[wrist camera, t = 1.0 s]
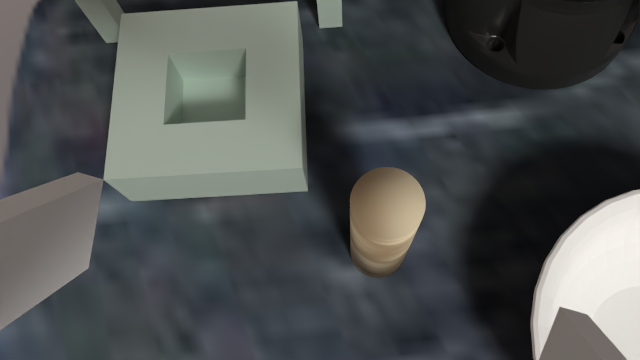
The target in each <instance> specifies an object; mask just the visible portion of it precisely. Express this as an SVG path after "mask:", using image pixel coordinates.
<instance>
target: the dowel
mask: <svg viewBox="0 0 640 360" xmlns="http://www.w3.org/2000/svg"><path fill="white" fill-rule="evenodd" d="M425 206H426V203H425V195H424V192H423V190H422V188H421V186H420V184H419V183H418V182H417V180H416V179H415V178H414V177H412V176H411V175H410V174H408V173H407V172H405V171H403V170H400V169H397V168H392V167H382V168H377V169H373V170H371V171H369V172H367V173H365V174H364V175H363V176H362V177H360V178H359V180H358V181H357V182H356V183H355V185H354V187H353V189H352V192H351V195H350V250H351V258H352V261H353V263H354V265H355V266H356V267H357V269H358V270H359V271H361V272H362V273H363V274H365V275H367V276H370V277H375V278H382V277H386V276H389V275H391V274H393V273H394V272H395V271H396V270H397V269H398V268H399V267H400V266H401V264H402V262H403V260H404V258H405V255H406V253H407V251H408V249H409V247H410V244H411V242H412V240H413V238H414V236H415V233H416V231H417V229H418V227H419V225H420V223H421V220H422V218H423V216H424V212H425Z"/></svg>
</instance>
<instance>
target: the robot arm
mask: <svg viewBox="0 0 640 360" xmlns="http://www.w3.org/2000/svg"><path fill="white" fill-rule="evenodd" d="M639 10H640V0H446V1H445V17H446V22H447V26H448V30H449V32H450V35H451V37H452V39H453V41H454V42H455V44H456V46H457V47H458V49H459V50H460V51H461V52H462V54H463V55H464V56H465V57H466V58H467V59H468V60H469V61H470V62H471V63H472V64H474V65H475V66H476V67H477V68H479V69H480V70H482V71H483V72H485V73H486V74H488V75H490V76H492V77H494V78H496V79H498V80H500V81H503V82H505V83H508V84H512V85H515V86H519V87H524V88H531V89H557V88H563V87H568V86H572V85H575V84H578V83H581V82H583V81H586V80H588V79H590V78H592V77H593V76H595V75H596V74H598V73H599V72H601V71H602V70H603V69H604V68H606V67H607V66H608V65H609V64H610V63H611V61H612V60H613V59H614V58H615V57H616V55H617V54H618V53H619V52H620V51H621V49H622V48H623V47H624V46H625V44H626V43H627V41H628V40H629V38H630V36H631V34H632V32H633V30H634V28H635V25H636V22H637V18H638V14H639ZM102 185H103V179H100V178H96V177H92V176H89V175H85V174H82V173H78V172H77V173H75V174H72V175H69V176H66V177H63V178H60V179H57V180H55V181H52V182H49V183H46V184H43V185H40V186H38V187H35V188H32V189H29V190H26V191H23V192H20V193H18V194H15V195H12V196H9V197H6V198H3V199H0V330H1V329H2V328H4V327H5V326H7V325H8V324H10V323H11V322H12V321H14V320H15V319H17V318H18V317H20V316H21V315H22V314H24V313H25V312H27V311H28V310H29V309H31V308H32V307H34V306H35V305H37V304H38V303H39V302H41V301H42V300H44V299H45V298H47V297H48V296H49V295H51V294H52V293H54V292H55V291H57V290H58V289H59V288H61V287H62V286H64V285H65V284H67V283H68V282H69V281H71V280H72V279H74V278H75V277H77V276H78V275H79V274H81V273H82V272H84V271H85V270H86V269H88V268H89V262H90V256H91V250H92V244H93V238H94V232H95V226H96V221H97V215H98V209H99V203H100V197H101V191H102ZM539 360H627V359H626V358H625V356H624V355H623V354H622V353H621V352H620V351H619V350H618V349H617V347H616V346H615V345H614V344H613V343H612V342H611V341H610V339H609V338H608V337H607V336H606V335H605V334H604V333H603V331H602V330H601V329H600V328H599V327H598V326H597V325H596V324H595V322H594V321H593V320H592V319H591V318H590V317H589V316H588V314H585V313H581V312H577V311H574V310H570V309H567V308H563V307H559V310H558V312H557V315H556V317H555V320H554V322H553V325H552V327H551V330H550V333H549V335H548V338H547V340H546V343H545V345H544V348H543V350H542V353H541V355H540V358H539Z"/></svg>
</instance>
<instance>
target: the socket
mask: <svg viewBox="0 0 640 360" xmlns="http://www.w3.org/2000/svg"><path fill="white" fill-rule="evenodd" d="M75 2H76V3H77V4H78V6H79V7H80V8H81V10H82V11H83V12H84V14H85V15H86V16H87V18H88V19H89V20H90V22H91V23H92V24H93V26H94V27H95V28H96V30H97V31H98V32H99V34H100V35H101V36H102V38H103V39H104V40H105V42H106V43H115V42H118V49H117V58H116V68H115V77H114V87H113V96H112V106H111V115H110V125H109V134H108V144H107V153H106V162H105V172H104V180H105V181H106V182H107V183H109V184H110V185H111V186H112V187H114V188H115V189H116V190H118V191H119V192H120V193H122V194H123V195H124V196H125V197H127V198H128V199H129V200H131V201H145V200H162V199H180V198H197V197H214V196H231V195H249V194H266V193H283V192H301V191H308V173H307V145H306V117H305V89H304V61H303V38H302V31H301V24H300V17H299V11H298V4H297V1H294V2H280V3H266V4H252V5H238V6H224V7H210V8H196V9H183V10H169V11H155V12H141V13H127V14H125V13H124V12H123V10H122V9H121V7H120V5H119V4H118V2H117V1H116V0H75ZM317 8H318V19H319V28H329V27H342V1H341V0H317Z"/></svg>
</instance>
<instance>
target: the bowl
mask: <svg viewBox="0 0 640 360" xmlns="http://www.w3.org/2000/svg"><path fill="white" fill-rule="evenodd" d="M559 307H563V308H567V309H570V310H574V311H577V312H581V313H585V314H588V316H589V317H590V318H591V319H592V320H593V321H594V322H595V324H596V325H597V326H598V327H599V328H600V329H601V330H602V331H603V333H604V334H605V335H606V336H607V337H608V338H609V339H610V341H611V342H612V343H613V344H614V345H615V346H616V347H617V349H618V350H619V351H620V352H621V353H622V354H623V355H624V356H625V358H626V359H627V360H640V189H638V190H632V191H629V192H626V193H624V194H621V195H618V196H616V197H613V198H610V199H607V200H605V201H603V202H601V203H600V204H598V205H597V206H595V207H594V208H592V209H590V210H589V211H587V212H586V213H584V214H583V215H581V216H580V217H579V218H578V219H577V220H576V221H575V222H574V223H573V224H572V225H571V226H570V227H569V228H568V229H567V230H566V231H565V232H564V233H563V234H562V235H561V236H560V237H559V238H558V240H557V242H556V243H555V245H554V247H553V248H552V250H551V251H550V253H549V255H548V256H547V258H546V259H545V261H544V264H543V266H542V269H541V272H540V275H539V278H538V281H537V284H536V287H535V290H534V296H533V305H532V313H531V321H530V326H531V338H532V351H533V359H534V360H539V358H540V355H541V353H542V350H543V348H544V345H545V343H546V340H547V338H548V335H549V333H550V330H551V327H552V325H553V322H554V320H555V317H556V315H557V312H558V310H559Z"/></svg>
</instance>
